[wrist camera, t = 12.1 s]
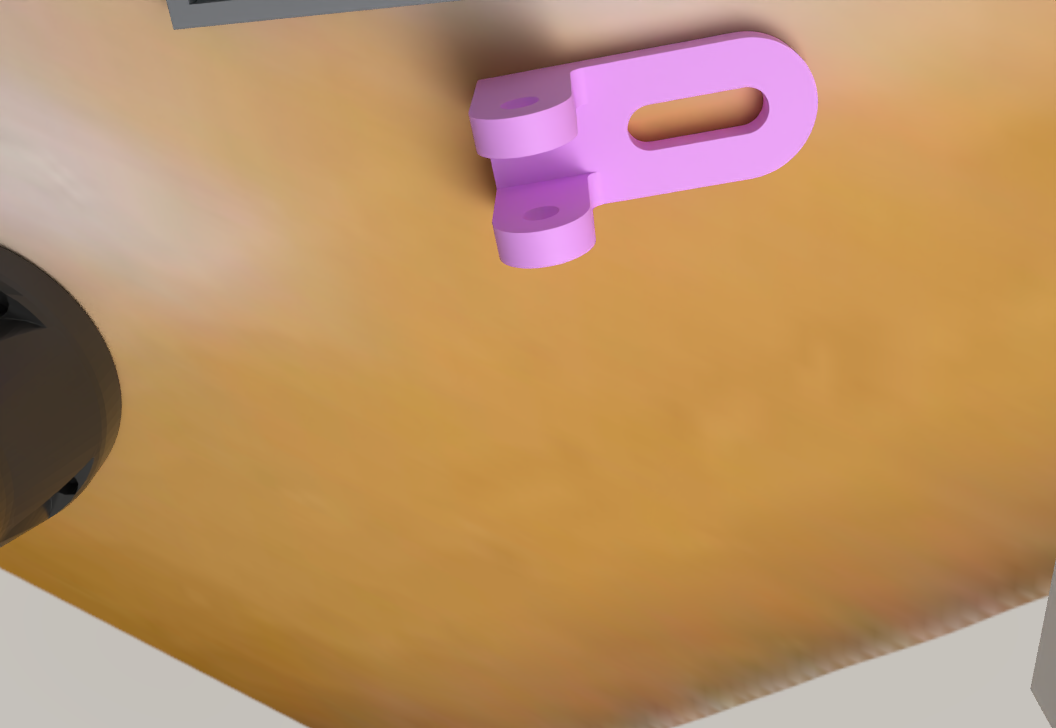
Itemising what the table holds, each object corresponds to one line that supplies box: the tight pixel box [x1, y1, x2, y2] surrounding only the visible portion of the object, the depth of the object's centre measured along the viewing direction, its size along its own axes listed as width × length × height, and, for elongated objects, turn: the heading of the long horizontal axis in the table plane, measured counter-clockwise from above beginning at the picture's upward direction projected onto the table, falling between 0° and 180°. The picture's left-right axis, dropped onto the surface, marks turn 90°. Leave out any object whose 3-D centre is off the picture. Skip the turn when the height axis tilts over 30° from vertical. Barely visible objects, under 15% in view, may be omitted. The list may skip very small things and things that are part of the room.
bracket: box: [469, 31, 818, 268], centre depth 38 cm, size 13×6×7 cm, turn 101°
